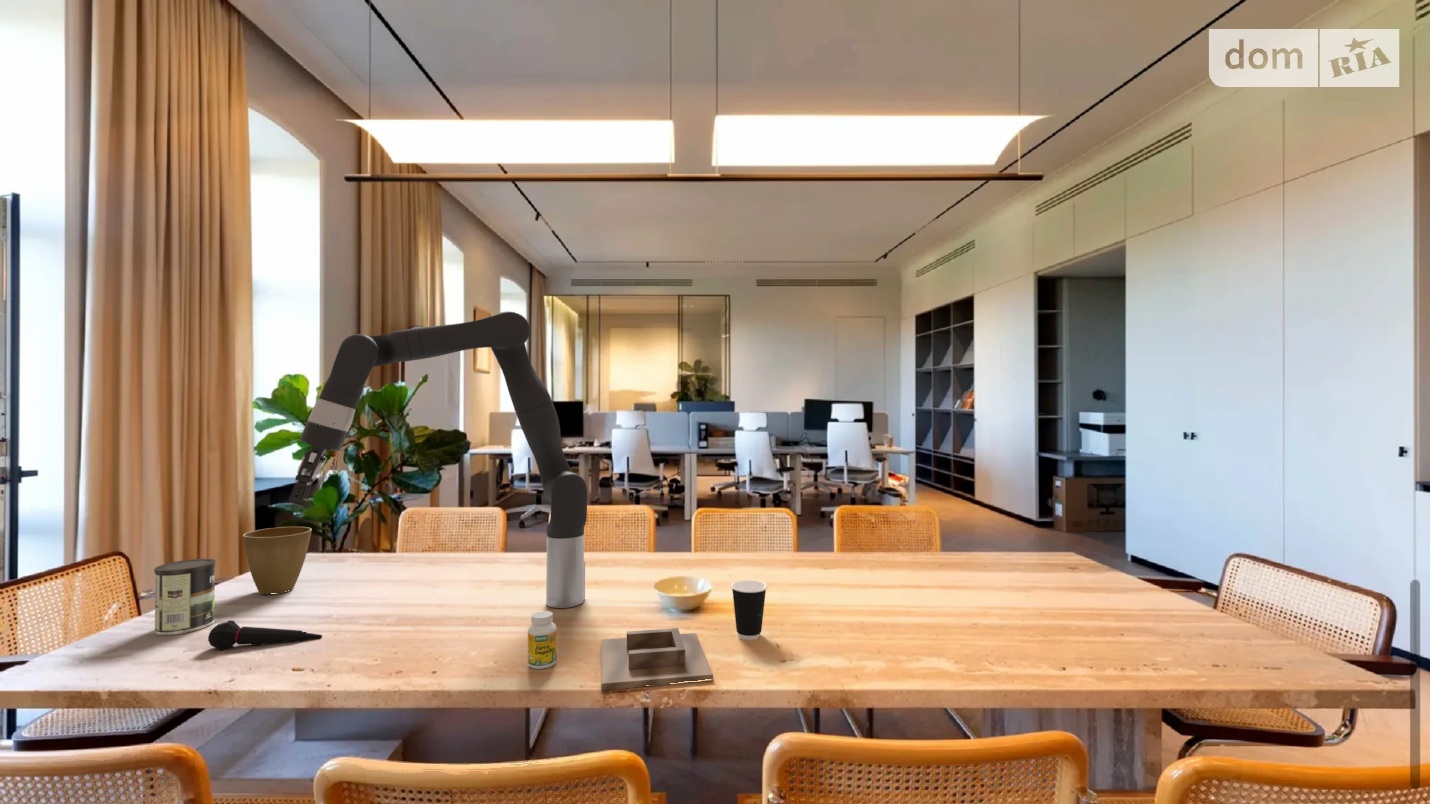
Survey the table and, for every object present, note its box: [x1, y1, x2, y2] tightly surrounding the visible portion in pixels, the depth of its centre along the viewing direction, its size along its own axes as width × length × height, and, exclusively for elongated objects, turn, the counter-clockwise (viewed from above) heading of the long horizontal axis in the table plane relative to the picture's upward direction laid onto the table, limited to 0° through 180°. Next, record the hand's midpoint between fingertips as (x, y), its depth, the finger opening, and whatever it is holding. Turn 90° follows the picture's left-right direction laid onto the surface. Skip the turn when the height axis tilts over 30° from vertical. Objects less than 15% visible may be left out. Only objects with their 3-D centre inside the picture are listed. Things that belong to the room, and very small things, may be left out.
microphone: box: [207, 620, 323, 651], centre depth 124 cm, size 6×6×20 cm
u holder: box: [600, 627, 714, 691], centre depth 115 cm, size 20×20×4 cm
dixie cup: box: [730, 579, 768, 641], centre depth 129 cm, size 8×8×11 cm
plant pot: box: [242, 526, 312, 595], centre depth 159 cm, size 15×15×16 cm
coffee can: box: [153, 558, 217, 636], centre depth 133 cm, size 10×10×14 cm
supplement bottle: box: [527, 610, 558, 670], centre depth 114 cm, size 5×5×10 cm
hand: (296, 500), depth 120 cm, fingers open, 8 cm apart
